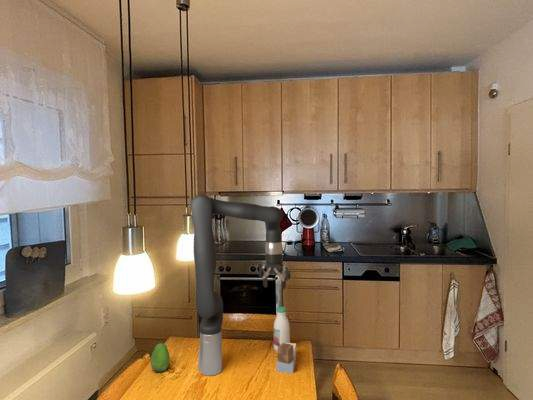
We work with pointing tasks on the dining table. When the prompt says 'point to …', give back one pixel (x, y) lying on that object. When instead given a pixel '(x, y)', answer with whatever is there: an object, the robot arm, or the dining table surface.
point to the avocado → (160, 358)
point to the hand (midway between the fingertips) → (274, 288)
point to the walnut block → (285, 353)
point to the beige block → (293, 348)
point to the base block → (286, 366)
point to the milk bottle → (281, 328)
